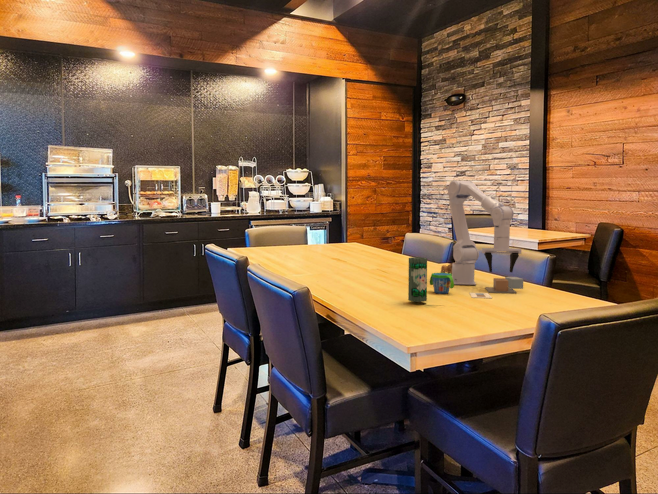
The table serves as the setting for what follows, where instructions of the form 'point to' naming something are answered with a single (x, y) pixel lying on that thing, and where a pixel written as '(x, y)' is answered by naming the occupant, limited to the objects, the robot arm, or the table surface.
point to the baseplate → (492, 290)
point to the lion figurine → (447, 268)
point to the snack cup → (441, 282)
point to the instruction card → (480, 295)
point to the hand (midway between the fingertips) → (500, 271)
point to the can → (417, 279)
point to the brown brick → (500, 284)
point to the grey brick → (515, 282)
